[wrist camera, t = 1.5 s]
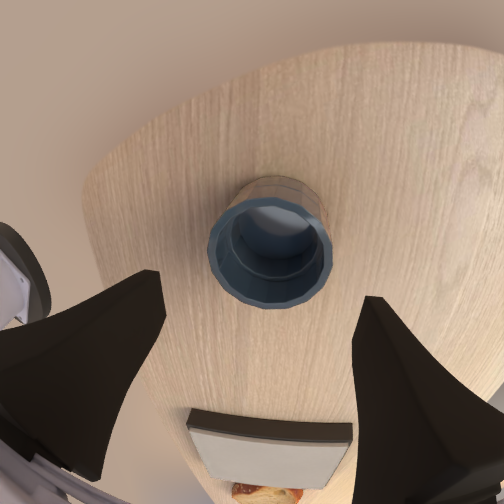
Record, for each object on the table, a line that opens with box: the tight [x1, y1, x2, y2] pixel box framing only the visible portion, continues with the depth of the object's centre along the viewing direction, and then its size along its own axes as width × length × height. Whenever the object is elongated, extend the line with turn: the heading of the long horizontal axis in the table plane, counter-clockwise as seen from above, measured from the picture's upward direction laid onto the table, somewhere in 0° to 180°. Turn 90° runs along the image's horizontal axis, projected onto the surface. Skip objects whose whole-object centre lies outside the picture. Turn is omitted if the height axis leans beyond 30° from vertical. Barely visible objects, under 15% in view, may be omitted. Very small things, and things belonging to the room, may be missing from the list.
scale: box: [186, 409, 353, 489], centre depth 30 cm, size 17×17×3 cm
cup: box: [207, 176, 333, 309], centre depth 15 cm, size 6×6×4 cm
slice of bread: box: [232, 483, 303, 504], centre depth 39 cm, size 18×18×4 cm
